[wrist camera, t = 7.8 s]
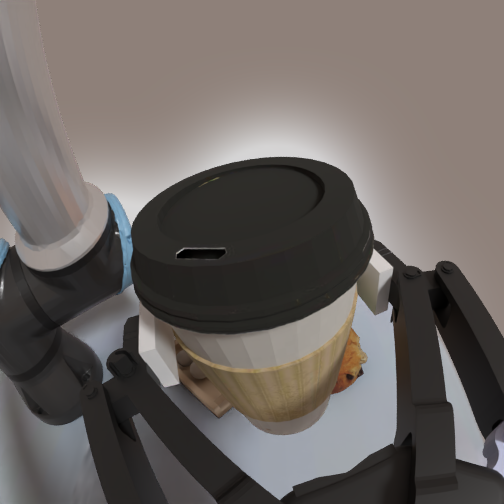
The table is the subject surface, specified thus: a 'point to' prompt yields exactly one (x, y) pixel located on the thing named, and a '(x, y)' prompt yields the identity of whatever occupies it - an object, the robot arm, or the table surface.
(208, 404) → the pebble tray
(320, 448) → the table surface
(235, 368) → the coffee cup
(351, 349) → the bread roll
